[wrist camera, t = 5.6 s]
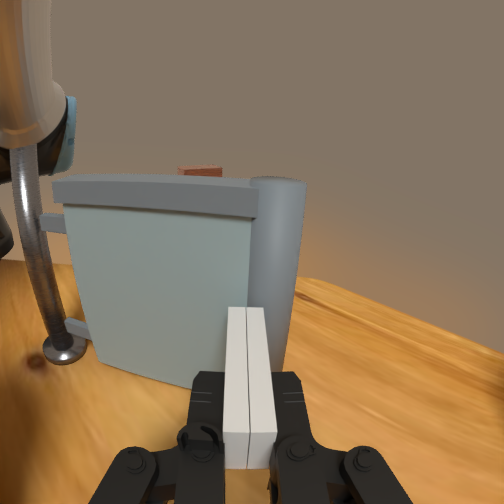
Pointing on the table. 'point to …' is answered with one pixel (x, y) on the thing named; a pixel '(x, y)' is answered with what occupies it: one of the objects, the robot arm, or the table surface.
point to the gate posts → (38, 256)
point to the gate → (178, 265)
